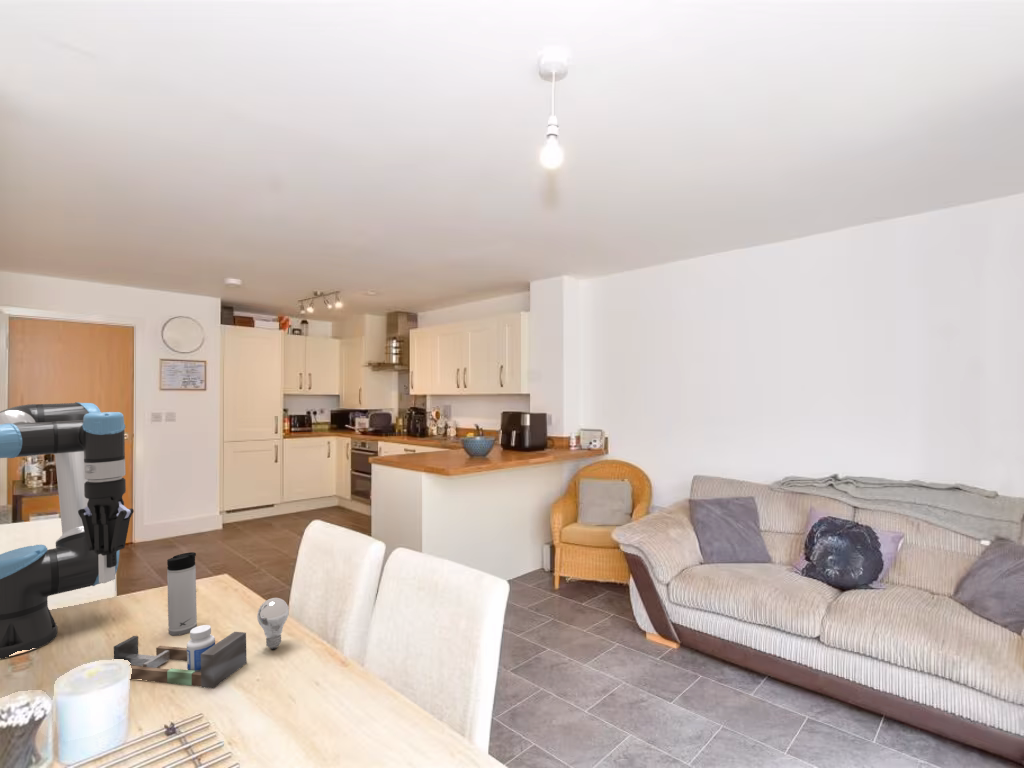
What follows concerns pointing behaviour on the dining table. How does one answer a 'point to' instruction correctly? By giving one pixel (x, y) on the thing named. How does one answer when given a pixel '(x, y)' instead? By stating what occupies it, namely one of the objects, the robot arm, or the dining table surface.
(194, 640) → the pill bottle
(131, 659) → the grey u-channel bracket
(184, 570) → the travel mug
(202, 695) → the dining table surface
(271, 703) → the dining table surface
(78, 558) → the robot arm
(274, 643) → the light bulb
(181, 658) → the frame
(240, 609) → the dining table surface
